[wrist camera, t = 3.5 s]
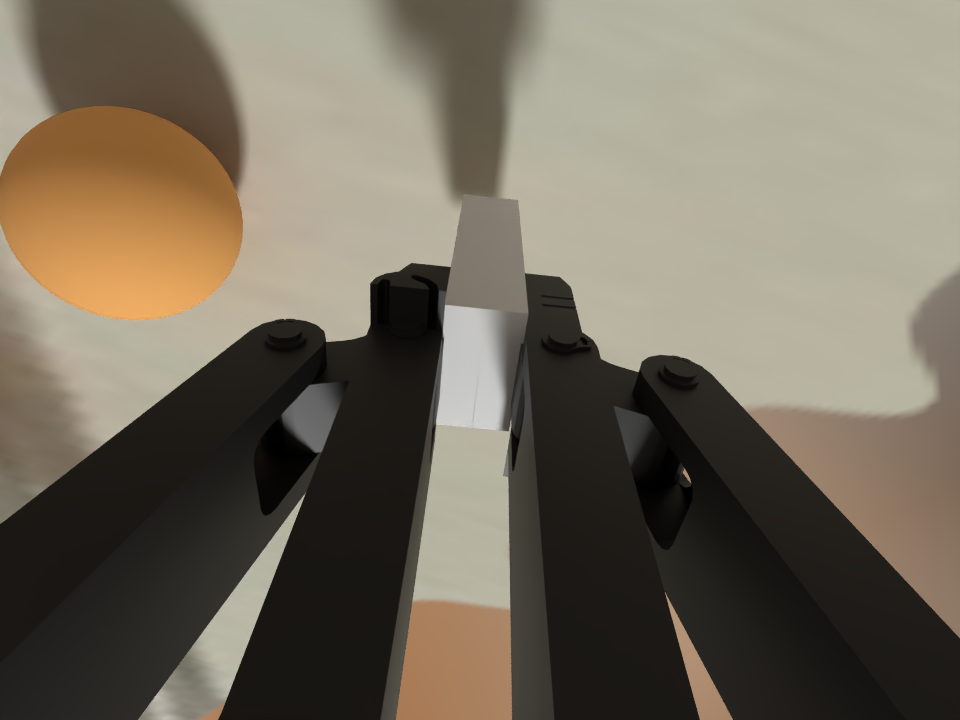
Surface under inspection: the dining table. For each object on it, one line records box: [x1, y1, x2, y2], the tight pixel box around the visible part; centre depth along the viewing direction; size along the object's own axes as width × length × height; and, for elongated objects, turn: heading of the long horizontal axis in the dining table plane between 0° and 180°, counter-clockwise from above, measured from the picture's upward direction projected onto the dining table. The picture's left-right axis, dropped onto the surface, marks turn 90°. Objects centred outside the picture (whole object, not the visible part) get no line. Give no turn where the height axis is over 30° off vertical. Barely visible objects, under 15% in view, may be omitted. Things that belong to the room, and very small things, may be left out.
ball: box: [0, 106, 243, 320], centre depth 15 cm, size 6×6×6 cm
